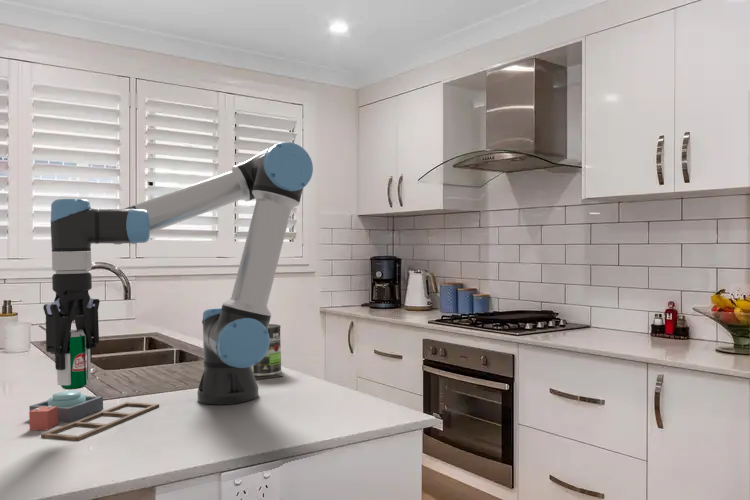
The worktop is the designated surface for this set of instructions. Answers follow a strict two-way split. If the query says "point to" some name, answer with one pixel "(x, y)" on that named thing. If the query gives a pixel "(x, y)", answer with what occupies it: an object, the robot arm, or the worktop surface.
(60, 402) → the dome button
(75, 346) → the soda can
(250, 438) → the worktop surface
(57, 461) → the worktop surface
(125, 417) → the track
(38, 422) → the red cube
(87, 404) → the grey tray
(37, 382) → the worktop surface
